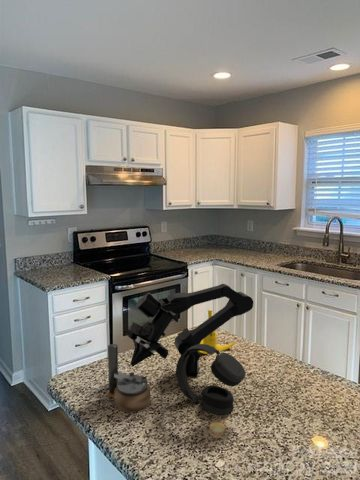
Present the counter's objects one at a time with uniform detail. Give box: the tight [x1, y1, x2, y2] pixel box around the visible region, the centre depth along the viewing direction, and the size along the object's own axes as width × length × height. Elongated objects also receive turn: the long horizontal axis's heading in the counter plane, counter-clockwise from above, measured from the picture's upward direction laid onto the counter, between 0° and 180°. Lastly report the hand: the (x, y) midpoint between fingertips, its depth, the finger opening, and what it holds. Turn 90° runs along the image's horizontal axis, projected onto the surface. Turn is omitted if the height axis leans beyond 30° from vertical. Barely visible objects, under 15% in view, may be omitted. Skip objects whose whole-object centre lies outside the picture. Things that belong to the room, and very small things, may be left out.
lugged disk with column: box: [107, 343, 148, 396], centre depth 113 cm, size 14×9×15 cm, turn 56°
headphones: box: [175, 344, 246, 415], centre depth 110 cm, size 18×8×20 cm
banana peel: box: [198, 309, 236, 355], centre depth 154 cm, size 16×19×17 cm
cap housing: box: [106, 383, 152, 413], centre depth 113 cm, size 15×11×4 cm
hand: (131, 365), depth 120 cm, fingers closed
